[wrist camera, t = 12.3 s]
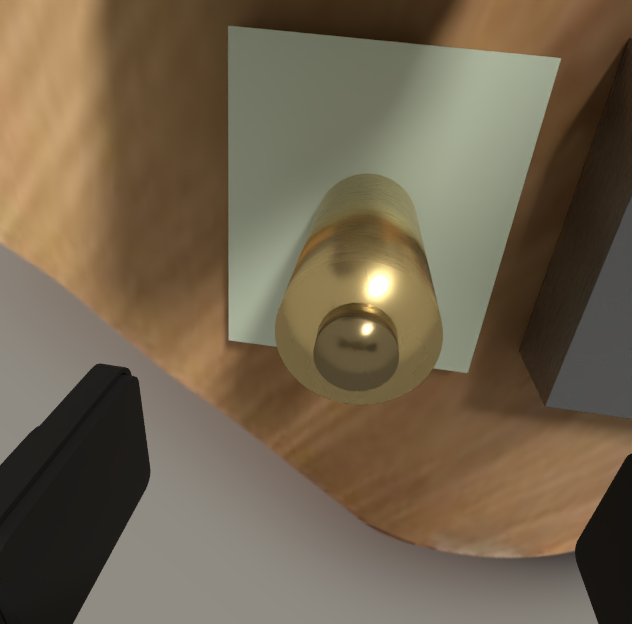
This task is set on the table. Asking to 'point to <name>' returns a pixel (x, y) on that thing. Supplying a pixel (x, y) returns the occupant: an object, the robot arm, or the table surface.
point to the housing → (591, 278)
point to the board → (376, 160)
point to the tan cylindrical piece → (361, 297)
